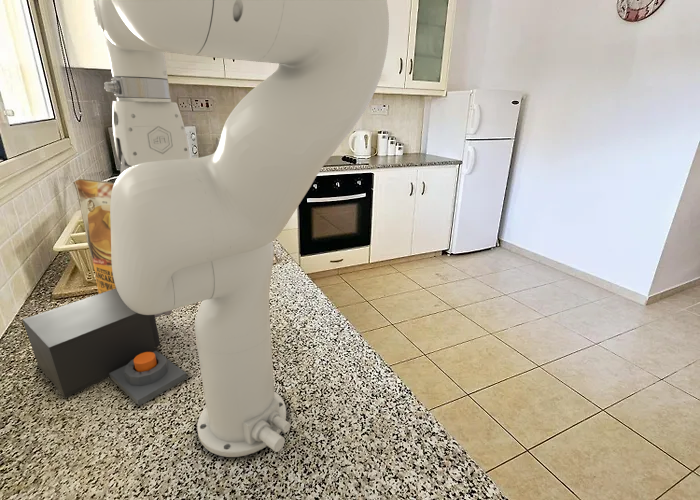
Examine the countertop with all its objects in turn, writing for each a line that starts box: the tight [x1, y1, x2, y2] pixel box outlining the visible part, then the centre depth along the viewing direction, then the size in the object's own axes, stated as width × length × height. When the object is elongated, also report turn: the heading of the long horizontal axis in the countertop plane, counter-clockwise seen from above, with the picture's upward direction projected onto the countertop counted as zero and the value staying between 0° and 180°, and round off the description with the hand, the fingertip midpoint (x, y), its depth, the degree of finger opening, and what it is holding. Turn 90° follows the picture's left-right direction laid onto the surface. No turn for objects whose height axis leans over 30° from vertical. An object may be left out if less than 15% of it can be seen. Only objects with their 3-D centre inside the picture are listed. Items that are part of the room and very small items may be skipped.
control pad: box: [109, 350, 188, 406], centre depth 63 cm, size 10×8×3 cm
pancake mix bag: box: [72, 178, 116, 294], centre depth 82 cm, size 7×19×28 cm, turn 65°
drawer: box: [149, 310, 173, 349], centre depth 69 cm, size 18×11×8 cm, turn 143°
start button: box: [134, 352, 157, 372], centre depth 62 cm, size 3×3×2 cm
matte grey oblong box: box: [21, 288, 157, 399], centre depth 66 cm, size 15×13×10 cm
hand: (162, 206), depth 64 cm, fingers closed
